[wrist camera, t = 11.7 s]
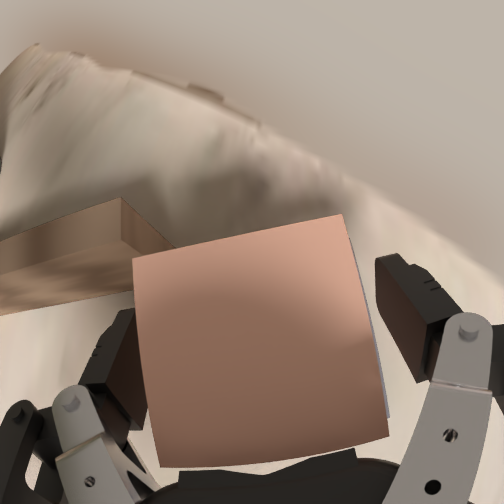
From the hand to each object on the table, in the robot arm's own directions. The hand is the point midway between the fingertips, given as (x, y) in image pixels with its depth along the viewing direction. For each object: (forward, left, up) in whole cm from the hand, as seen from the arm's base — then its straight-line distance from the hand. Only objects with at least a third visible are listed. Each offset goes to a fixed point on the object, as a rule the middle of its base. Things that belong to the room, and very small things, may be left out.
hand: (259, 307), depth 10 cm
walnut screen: (-14, -9, -7) cm, 18 cm away
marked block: (+1, -1, -6) cm, 6 cm away
